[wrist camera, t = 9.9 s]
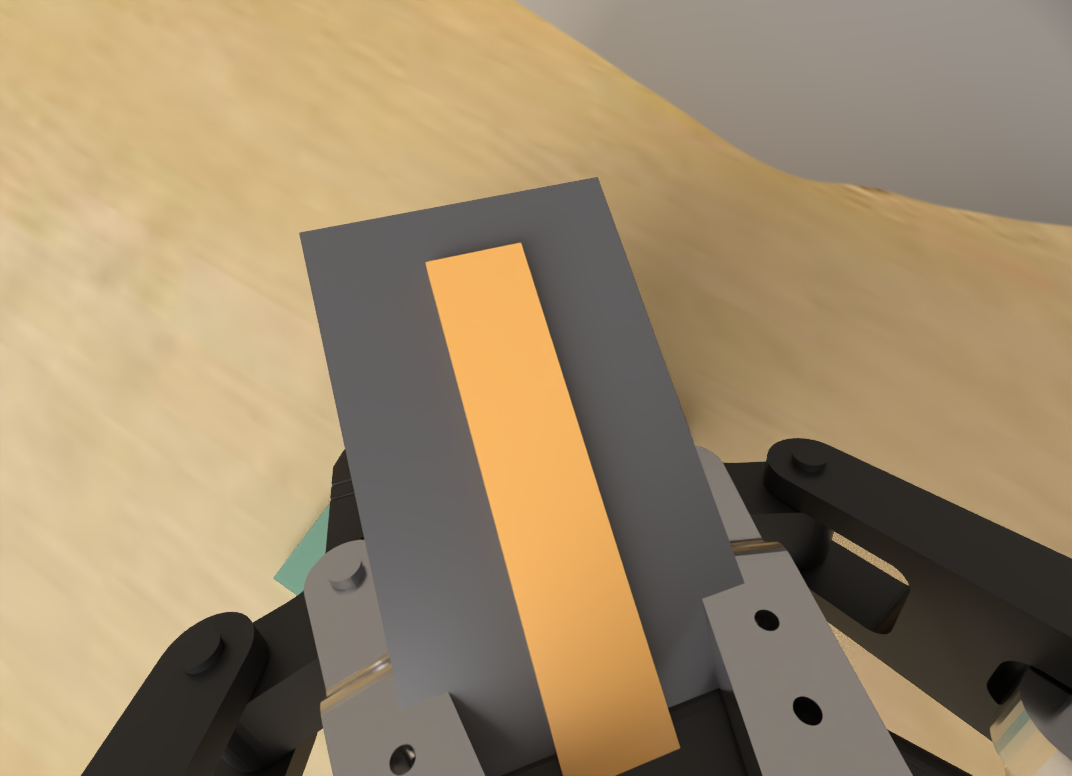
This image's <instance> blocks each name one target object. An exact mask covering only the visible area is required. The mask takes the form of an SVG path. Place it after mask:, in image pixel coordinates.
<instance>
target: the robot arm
mask: <svg viewBox="0 0 1072 776" xmlns="http://www.w3.org/2000/svg"><path fill="white" fill-rule="evenodd" d="M695 447H696V450H697V453H698V456H699V458H700V461H701V464H702V467H703V469H704V472H705V475H706V478H707V481H708V483H709V486H710V489H711V492H712V494H713V497H714V500H715V503H716V505H717V508H718V511H719V514H720V516H721V519H722V522H723V525H724V527H725V530H726V533H727V536H728V538H729V541H730V544H731V547H732V550H733V552H734V555H735V558H736V561H737V563H738V566H739V569H740V572H741V574H742V577H743V580H744V584H742V585H739V586H736V587H733V588H731V589H728V590H725V591H723V592H720V593H717V594H714V595H712V596H709V597H706V598H703V599H702V602H703V608H704V613H705V619H706V625H707V631H708V637H709V643H710V649H711V655H712V661H713V667H714V671H715V674H716V677H717V680H718V683H719V686H720V688H717V689H715V690H712V691H709V692H707V693H704V694H702V695H699V696H697V697H694V698H692V699H690V700H687V701H685V702H682V703H680V704H677V705H675V706H672V707H670V708H668V710H669V713H670V716H671V720H672V723H673V726H674V729H675V732H676V735H677V739H678V742H679V745H680V748H679V749H677V750H675V751H672V752H670V753H668V754H665V755H663V756H661V757H658V758H656V759H653V760H651V761H649V762H646V763H644V764H642V765H639V766H637V767H635V768H632V769H630V770H627V771H625V772H623V773H620V774H618V775H616V776H972V775H971V774H969V773H967V772H965V771H963V770H961V769H959V768H958V767H956V766H954V765H952V764H950V763H948V762H946V761H945V760H943V759H941V758H939V757H937V756H935V755H933V754H932V753H930V752H928V751H926V750H924V749H922V748H921V747H919V746H917V745H915V744H913V743H911V742H909V741H908V740H906V739H904V738H902V737H900V736H898V735H896V734H895V733H893V732H891V731H889V730H887V729H886V727H885V725H884V723H883V721H882V720H881V718H880V716H879V714H878V712H877V711H876V709H875V707H874V705H873V703H872V702H871V700H870V698H869V696H868V694H867V693H866V691H865V689H864V687H863V685H862V684H861V682H860V680H859V678H858V676H857V675H856V673H855V671H854V669H853V667H852V666H851V664H850V662H849V660H848V658H847V657H846V655H845V653H844V651H843V649H842V648H841V646H840V644H839V642H838V640H837V639H836V637H835V635H834V633H833V631H832V630H831V628H830V626H829V624H828V622H829V623H830V624H831V625H833V626H834V627H836V628H837V629H838V630H840V631H841V632H842V633H844V634H845V635H847V636H848V637H849V638H851V639H852V640H853V641H855V642H856V643H858V644H859V645H860V646H862V647H863V648H864V649H866V650H867V651H869V652H870V653H871V654H873V655H874V656H875V657H877V658H878V659H880V660H881V661H882V662H884V663H885V664H886V665H888V666H889V667H891V668H892V669H893V670H895V671H896V672H897V673H899V674H900V675H901V676H903V677H904V678H906V679H907V680H908V681H910V682H911V683H912V684H914V685H915V686H917V687H918V688H919V689H921V690H922V691H923V692H925V693H926V694H928V695H929V696H930V697H932V698H933V699H934V700H936V701H937V702H939V703H940V704H941V705H943V706H944V707H945V708H947V709H948V710H950V711H951V712H952V713H954V714H955V715H956V716H958V717H959V718H961V719H962V720H963V721H965V722H966V723H967V724H969V725H970V726H972V727H973V728H974V729H976V730H977V731H978V732H980V733H981V734H983V735H984V736H985V737H987V738H988V739H989V740H991V741H992V742H993V744H994V747H995V749H996V751H997V753H998V755H999V757H1000V758H1001V760H1002V761H1003V763H1004V764H1005V766H1006V767H1005V773H1006V776H1072V559H1071V558H1069V557H1067V556H1065V555H1062V554H1060V553H1058V552H1056V551H1054V550H1052V549H1050V548H1047V547H1045V546H1043V545H1041V544H1039V543H1037V542H1035V541H1033V540H1030V539H1028V538H1026V537H1024V536H1022V535H1020V534H1018V533H1015V532H1013V531H1011V530H1009V529H1007V528H1005V527H1003V526H1000V525H998V524H996V523H994V522H992V521H990V520H988V519H985V518H983V517H981V516H979V515H977V514H975V513H973V512H970V511H968V510H966V509H964V508H962V507H960V506H958V505H956V504H953V503H951V502H949V501H947V500H945V499H943V498H941V497H938V496H936V495H934V494H932V493H930V492H928V491H926V490H923V489H921V488H919V487H917V486H915V485H913V484H911V483H908V482H906V481H904V480H902V479H900V478H898V477H896V476H894V475H891V474H889V473H887V472H885V471H883V470H881V469H879V468H876V467H874V466H872V465H870V464H868V463H866V462H864V461H861V460H859V459H857V458H855V457H853V456H851V455H849V454H846V453H844V452H842V451H840V450H838V449H836V448H834V447H831V446H829V445H827V444H825V443H822V442H819V441H815V440H810V439H803V438H793V439H786V440H782V441H779V442H777V443H776V444H774V445H773V446H772V447H771V448H770V449H769V451H768V454H767V460H766V462H747V463H723V462H722V461H721V459H720V458H719V457H718V456H717V455H715V454H714V453H713V452H711V451H709V450H707V449H705V448H702V447H699V446H695ZM330 498H331V501H330V508H329V519H328V530H327V541H326V552H325V555H323V556H322V557H321V558H320V559H319V560H318V561H317V562H316V563H315V564H314V566H313V567H312V568H311V570H310V571H309V573H308V575H307V577H306V580H305V584H304V590H303V591H302V592H301V593H300V594H299V595H297V596H296V597H295V598H293V599H292V600H290V601H289V602H287V603H286V604H284V605H282V606H281V607H279V608H277V609H275V610H274V611H272V612H270V613H269V614H267V615H265V616H263V617H262V618H260V619H258V620H257V621H255V622H253V623H252V621H251V620H250V619H249V618H248V617H247V616H246V615H244V614H242V613H238V612H225V613H220V614H216V615H213V616H211V617H208V618H206V619H204V620H202V621H200V622H198V623H197V624H195V625H193V626H192V627H190V628H189V629H188V630H186V631H185V632H184V633H182V634H181V635H180V636H179V637H178V638H177V639H176V640H175V641H174V642H173V643H172V644H171V645H170V646H169V647H168V648H167V650H166V651H165V652H164V654H163V655H162V656H161V658H160V659H159V661H158V662H157V664H156V665H155V667H154V668H153V670H152V671H151V673H150V674H149V675H148V677H147V678H146V680H145V681H144V683H143V684H142V686H141V687H140V689H139V690H138V692H137V693H136V695H135V696H134V698H133V699H132V701H131V702H130V704H129V705H128V707H127V708H126V710H125V711H124V712H123V714H122V715H121V717H120V718H119V720H118V721H117V723H116V724H115V726H114V727H113V729H112V730H111V732H110V733H109V735H108V736H107V738H106V739H105V741H104V742H103V744H102V745H101V747H100V748H99V750H98V751H97V752H96V754H95V755H94V757H93V758H92V760H91V761H90V763H89V764H88V766H87V767H86V769H85V770H84V772H83V773H82V775H81V776H302V775H303V772H304V769H305V767H306V764H307V761H308V758H309V756H310V753H311V750H312V747H313V745H314V742H315V739H316V736H317V732H318V731H320V730H321V729H322V728H323V729H324V734H325V739H326V744H327V749H328V753H329V758H330V763H331V768H332V772H333V776H485V774H484V772H483V770H482V768H481V765H480V763H479V761H478V758H477V756H476V754H475V752H474V749H473V747H472V745H471V743H470V740H469V738H468V736H467V734H466V731H465V729H464V727H463V724H462V722H461V720H460V718H459V715H458V713H457V711H456V709H455V706H454V704H453V702H452V700H451V697H450V695H449V693H448V692H447V693H444V694H441V695H438V696H436V697H433V698H430V699H428V700H425V701H422V702H419V703H417V704H414V705H411V706H408V707H406V708H403V709H401V708H400V704H399V699H398V694H397V690H396V685H395V680H394V676H393V671H392V666H391V661H390V657H389V652H388V647H387V643H386V638H385V633H384V629H383V624H382V619H381V615H380V610H379V605H378V600H377V596H376V591H375V586H374V582H373V577H372V572H371V568H370V563H369V558H368V554H367V549H366V544H365V539H364V535H363V530H362V525H361V521H360V516H359V511H358V507H357V502H356V497H355V492H354V488H353V483H352V478H351V474H350V469H349V464H348V460H347V455H346V450H344V451H343V452H342V454H341V456H340V457H339V459H338V460H337V462H336V463H335V465H334V467H333V475H332V487H331V497H330ZM834 531H835V532H836V533H838V534H840V535H842V536H843V537H845V538H847V539H848V540H850V541H852V542H853V543H855V544H857V545H859V546H860V547H862V548H864V549H865V550H867V551H869V552H870V553H872V554H874V555H876V556H877V557H879V558H881V559H882V560H884V561H886V562H887V563H889V564H891V565H892V566H894V567H895V568H896V569H898V570H899V571H900V572H901V573H902V574H903V576H904V577H905V578H906V580H907V581H908V584H909V586H908V585H906V584H904V583H902V582H900V581H899V580H897V579H895V578H894V577H892V576H890V575H889V574H887V573H885V572H884V571H882V570H881V569H879V568H877V567H876V566H874V565H872V564H871V563H869V562H867V561H866V560H864V559H862V558H861V557H859V556H857V555H856V554H854V553H852V552H851V551H849V550H847V549H846V548H844V547H842V546H841V545H839V544H837V543H836V542H834V541H832V537H833V534H834ZM412 759H415V763H414V765H412ZM501 776H563V775H562V771H561V768H560V764H559V761H558V757H557V754H553V755H551V756H548V757H546V758H543V759H541V760H538V761H536V762H534V763H531V764H529V765H526V766H524V767H521V768H519V769H516V770H514V771H511V772H509V773H506V774H504V775H501Z"/></svg>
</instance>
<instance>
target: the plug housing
mask: <svg viewBox="0 0 1072 776" xmlns="http://www.w3.org/2000/svg"><path fill="white" fill-rule="evenodd" d="M299 234H300V239H301V244H302V248H303V253H304V258H305V262H306V267H307V272H308V277H309V281H310V286H311V291H312V295H313V300H314V305H315V309H316V314H317V319H318V323H319V328H320V333H321V338H322V342H323V347H324V352H325V356H326V361H327V366H328V370H329V375H330V380H331V384H332V389H333V394H334V399H335V403H336V408H337V413H338V417H339V422H340V427H341V431H342V436H343V441H344V446H345V450H346V455H347V460H348V464H349V469H350V474H351V478H352V483H353V488H354V492H355V497H356V502H357V507H358V511H359V516H360V521H361V525H362V530H363V535H364V539H365V544H366V549H367V554H368V558H369V563H370V568H371V572H372V577H373V582H374V586H375V591H376V596H377V600H378V605H379V610H380V615H381V619H382V624H383V629H384V633H385V638H386V643H387V647H388V652H389V657H390V661H391V666H392V671H393V676H394V680H395V685H396V690H397V694H398V699H399V704H400V708H401V709H403V708H406V707H408V706H411V705H414V704H417V703H419V702H422V701H425V700H428V699H430V698H433V697H436V696H438V695H441V694H444V693H447V692H448V693H449V695H450V697H451V700H452V702H453V704H454V706H455V709H456V711H457V713H458V715H459V718H460V720H461V722H462V724H463V727H464V729H465V731H466V734H467V736H468V738H469V740H470V743H471V745H472V747H473V749H474V752H475V754H476V756H477V758H478V761H479V763H480V765H481V768H482V770H483V772H484V774H485V776H501V775H504V774H506V773H509V772H511V771H514V770H516V769H519V768H521V767H524V766H526V765H529V764H531V763H534V762H536V761H538V760H541V759H543V758H546V757H548V756H551V755H553V754H557V757H558V761H559V764H560V768H561V771H562V775H563V776H616V775H618V774H620V773H623V772H625V771H627V770H630V769H632V768H635V767H637V766H639V765H642V764H644V763H646V762H649V761H651V760H653V759H656V758H658V757H661V756H663V755H665V754H668V753H670V752H672V751H675V750H677V749H679V748H680V745H679V742H678V739H677V735H676V732H675V729H674V726H673V723H672V720H671V716H670V713H669V710H668V708H670V707H672V706H675V705H677V704H680V703H682V702H685V701H687V700H690V699H692V698H694V697H697V696H699V695H702V694H704V693H707V692H709V691H712V690H715V689H717V688H720V686H719V683H718V680H717V677H716V674H715V671H714V667H713V661H712V655H711V649H710V643H709V637H708V631H707V625H706V619H705V613H704V608H703V602H702V599H703V598H706V597H709V596H712V595H714V594H717V593H720V592H723V591H725V590H728V589H731V588H733V587H736V586H739V585H742V584H744V580H743V577H742V574H741V572H740V569H739V566H738V563H737V561H736V558H735V555H734V552H733V550H732V547H731V544H730V541H729V538H728V536H727V533H726V530H725V527H724V525H723V522H722V519H721V516H720V514H719V511H718V508H717V505H716V503H715V500H714V497H713V494H712V492H711V489H710V486H709V483H708V481H707V478H706V475H705V472H704V469H703V467H702V464H701V461H700V458H699V456H698V453H697V450H696V447H695V445H694V442H693V439H692V436H691V434H690V431H689V428H688V425H687V423H686V420H685V417H684V414H683V411H682V409H681V406H680V403H679V400H678V398H677V395H676V392H675V389H674V387H673V384H672V381H671V378H670V376H669V373H668V370H667V367H666V365H665V362H664V359H663V356H662V354H661V351H660V348H659V345H658V342H657V340H656V337H655V334H654V331H653V329H652V326H651V323H650V320H649V318H648V315H647V312H646V309H645V307H644V304H643V301H642V298H641V296H640V293H639V290H638V287H637V284H636V282H635V279H634V276H633V273H632V271H631V268H630V265H629V262H628V260H627V257H626V254H625V251H624V249H623V246H622V243H621V240H620V238H619V235H618V232H617V229H616V226H615V224H614V221H613V218H612V215H611V213H610V210H609V207H608V204H607V202H606V199H605V196H604V193H603V191H602V188H601V185H600V182H599V180H598V177H596V178H590V179H585V180H579V181H574V182H569V183H563V184H558V185H553V186H547V187H542V188H537V189H531V190H526V191H521V192H515V193H510V194H505V195H499V196H494V197H488V198H483V199H478V200H472V201H467V202H462V203H456V204H451V205H446V206H440V207H435V208H430V209H424V210H419V211H413V212H408V213H403V214H397V215H392V216H387V217H381V218H376V219H371V220H365V221H360V222H355V223H349V224H344V225H338V226H333V227H328V228H322V229H317V230H312V231H306V232H301V233H299ZM414 763H415V759H412V765H414Z"/></svg>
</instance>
